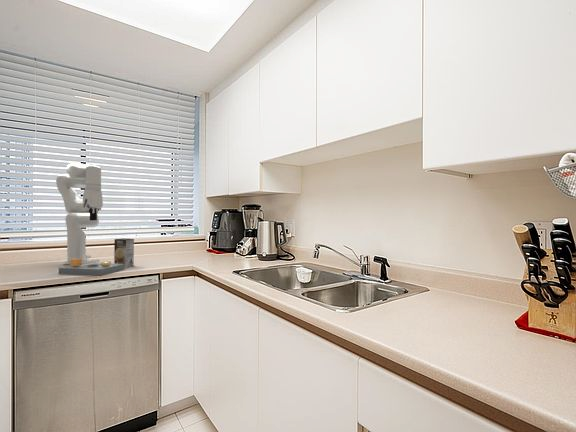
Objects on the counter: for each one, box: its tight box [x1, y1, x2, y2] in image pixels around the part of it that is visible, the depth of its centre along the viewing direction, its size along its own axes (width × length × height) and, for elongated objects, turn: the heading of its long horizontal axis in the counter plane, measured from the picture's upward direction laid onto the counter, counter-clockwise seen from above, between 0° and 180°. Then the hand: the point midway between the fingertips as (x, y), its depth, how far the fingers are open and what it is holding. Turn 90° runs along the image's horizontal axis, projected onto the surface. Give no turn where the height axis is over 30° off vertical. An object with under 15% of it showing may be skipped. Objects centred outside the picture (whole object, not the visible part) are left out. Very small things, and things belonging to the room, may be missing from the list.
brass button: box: [100, 261, 112, 266], centre depth 163 cm, size 5×5×2 cm
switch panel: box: [58, 262, 126, 276], centre depth 164 cm, size 18×24×4 cm
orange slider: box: [69, 259, 82, 266], centre depth 163 cm, size 3×4×4 cm
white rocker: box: [85, 258, 101, 264], centre depth 164 cm, size 4×5×2 cm
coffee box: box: [113, 237, 135, 268], centre depth 184 cm, size 9×6×16 cm
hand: (93, 220), depth 175 cm, fingers closed
